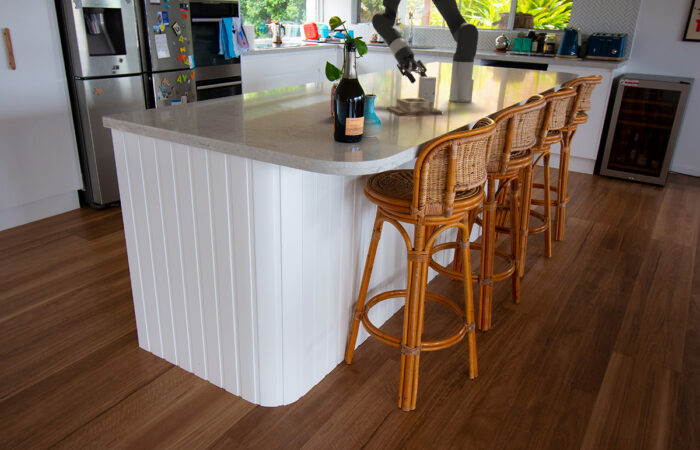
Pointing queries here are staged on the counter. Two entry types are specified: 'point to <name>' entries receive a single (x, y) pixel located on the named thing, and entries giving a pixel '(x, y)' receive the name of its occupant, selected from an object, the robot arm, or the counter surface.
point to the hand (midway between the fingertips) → (420, 81)
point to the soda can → (332, 96)
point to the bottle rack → (414, 107)
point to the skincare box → (427, 88)
